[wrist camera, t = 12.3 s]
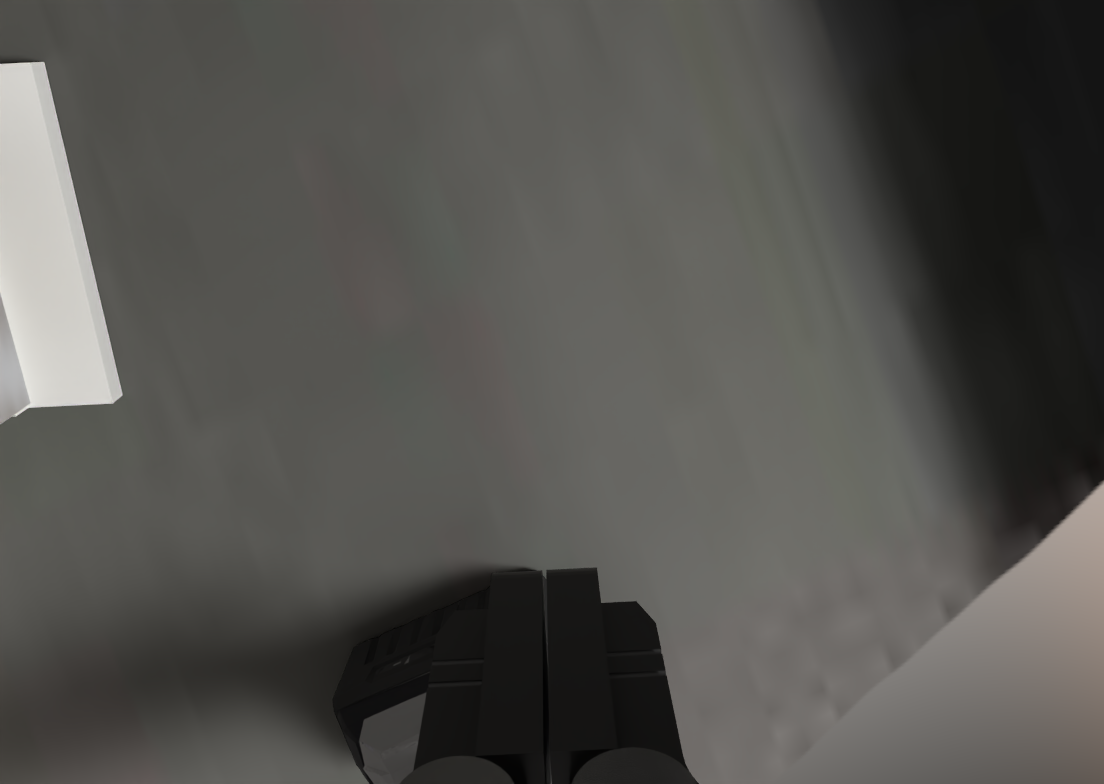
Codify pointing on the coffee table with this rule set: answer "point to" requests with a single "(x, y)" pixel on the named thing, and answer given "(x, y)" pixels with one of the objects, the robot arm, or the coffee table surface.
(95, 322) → the dock
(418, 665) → the cordless drill
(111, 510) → the coffee table surface
